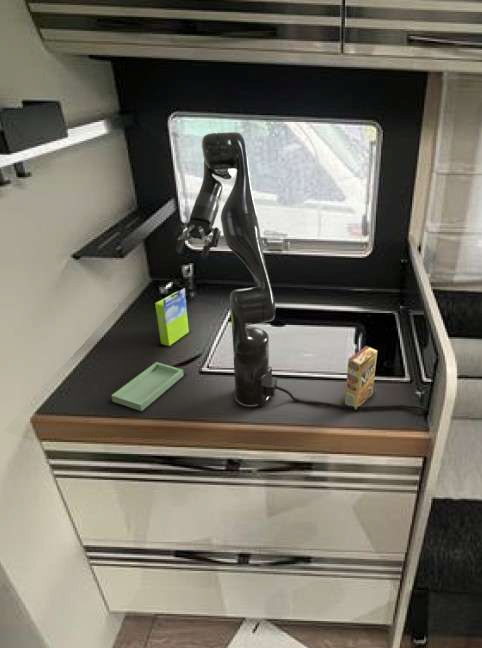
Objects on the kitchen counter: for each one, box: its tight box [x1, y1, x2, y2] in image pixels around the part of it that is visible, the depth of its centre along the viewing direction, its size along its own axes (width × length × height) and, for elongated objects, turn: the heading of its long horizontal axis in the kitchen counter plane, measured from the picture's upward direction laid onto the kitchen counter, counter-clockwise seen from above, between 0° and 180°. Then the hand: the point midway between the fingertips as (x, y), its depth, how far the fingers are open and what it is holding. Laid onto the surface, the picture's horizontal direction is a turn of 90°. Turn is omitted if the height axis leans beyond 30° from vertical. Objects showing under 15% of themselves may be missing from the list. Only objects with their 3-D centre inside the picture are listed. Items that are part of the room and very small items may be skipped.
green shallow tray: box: [111, 361, 185, 412], centre depth 112 cm, size 10×17×2 cm, turn 161°
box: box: [154, 287, 190, 347], centre depth 132 cm, size 11×4×17 cm, turn 161°
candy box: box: [344, 345, 378, 410], centre depth 111 cm, size 9×4×15 cm, turn 144°
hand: (190, 255), depth 127 cm, fingers open, 8 cm apart
